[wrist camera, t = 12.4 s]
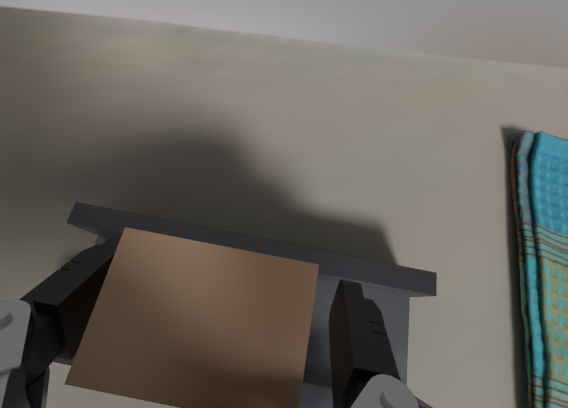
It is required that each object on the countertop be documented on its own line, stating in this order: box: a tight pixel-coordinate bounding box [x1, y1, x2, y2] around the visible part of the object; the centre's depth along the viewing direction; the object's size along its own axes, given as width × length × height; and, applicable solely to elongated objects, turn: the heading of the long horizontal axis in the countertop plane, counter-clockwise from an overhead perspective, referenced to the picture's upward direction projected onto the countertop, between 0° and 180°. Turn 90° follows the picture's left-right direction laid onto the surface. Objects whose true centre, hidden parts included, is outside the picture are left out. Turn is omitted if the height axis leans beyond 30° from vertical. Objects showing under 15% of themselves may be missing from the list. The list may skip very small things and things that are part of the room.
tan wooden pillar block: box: [65, 227, 319, 408], centre depth 12 cm, size 5×4×11 cm
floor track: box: [53, 202, 436, 408], centre depth 16 cm, size 20×8×4 cm, turn 79°
